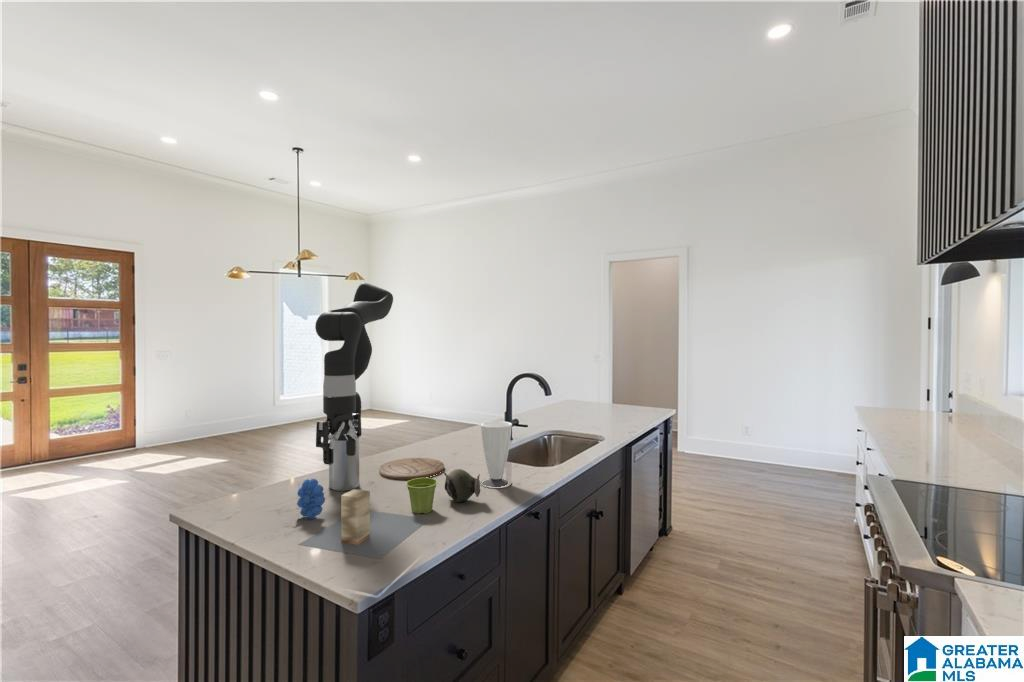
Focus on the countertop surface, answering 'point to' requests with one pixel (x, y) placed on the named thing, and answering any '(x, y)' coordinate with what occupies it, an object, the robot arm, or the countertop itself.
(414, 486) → the plant pot
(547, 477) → the countertop surface
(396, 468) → the trivet
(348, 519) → the maple block
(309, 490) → the grapes
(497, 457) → the cup
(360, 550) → the rubber mat
